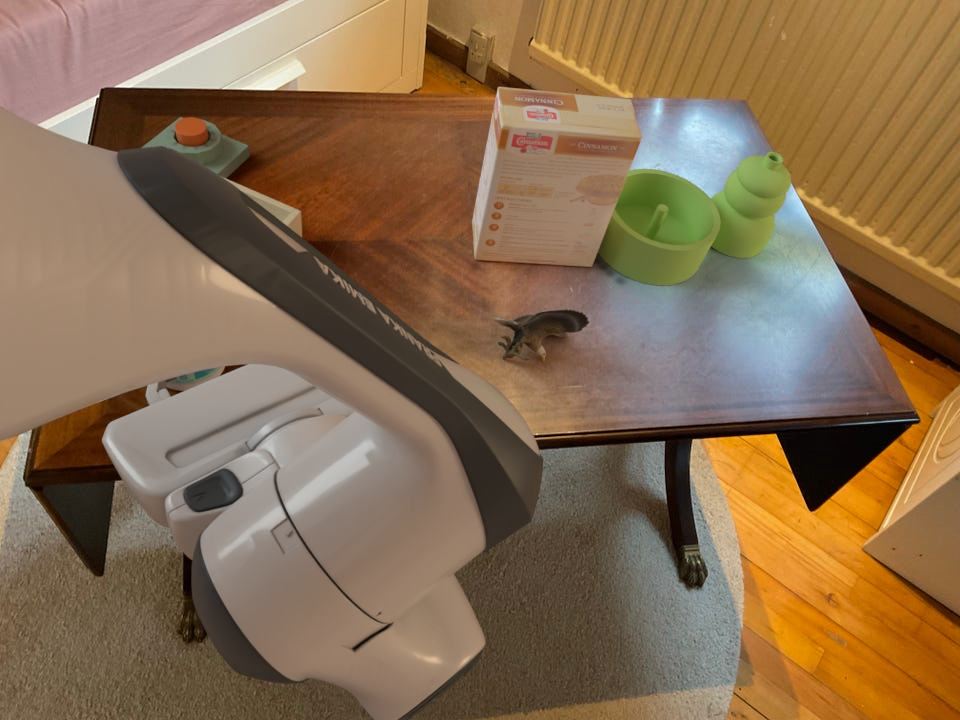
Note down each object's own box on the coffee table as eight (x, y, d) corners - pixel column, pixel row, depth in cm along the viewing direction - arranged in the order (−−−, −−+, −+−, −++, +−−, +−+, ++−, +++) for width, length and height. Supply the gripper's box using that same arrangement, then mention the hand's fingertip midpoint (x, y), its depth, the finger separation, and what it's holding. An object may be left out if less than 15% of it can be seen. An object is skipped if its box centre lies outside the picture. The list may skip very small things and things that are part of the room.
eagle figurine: (540, 389, 78) (599, 340, 81) (518, 336, 74) (580, 287, 77) (497, 368, 84) (553, 323, 87) (474, 318, 80) (534, 273, 83)
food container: (619, 292, 90) (655, 214, 80) (575, 210, 97) (602, 130, 88) (787, 267, 97) (839, 194, 87) (734, 193, 105) (775, 117, 95)
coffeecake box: (584, 228, 96) (632, 97, 80) (593, 269, 91) (645, 138, 76) (470, 220, 93) (496, 83, 78) (473, 261, 89) (502, 124, 74)
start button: (170, 140, 89) (168, 128, 87) (189, 125, 91) (187, 113, 90) (196, 151, 88) (194, 139, 87) (214, 136, 91) (212, 124, 89)
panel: (141, 161, 90) (135, 137, 88) (182, 127, 95) (178, 104, 92) (211, 192, 89) (207, 169, 86) (250, 156, 94) (247, 133, 91)
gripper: (444, 385, 51) (344, 256, 57) (145, 533, 42) (62, 361, 48) (434, 432, 56) (343, 309, 62) (166, 573, 47) (88, 413, 53)
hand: (218, 332), depth 55 cm, fingers open, 8 cm apart
